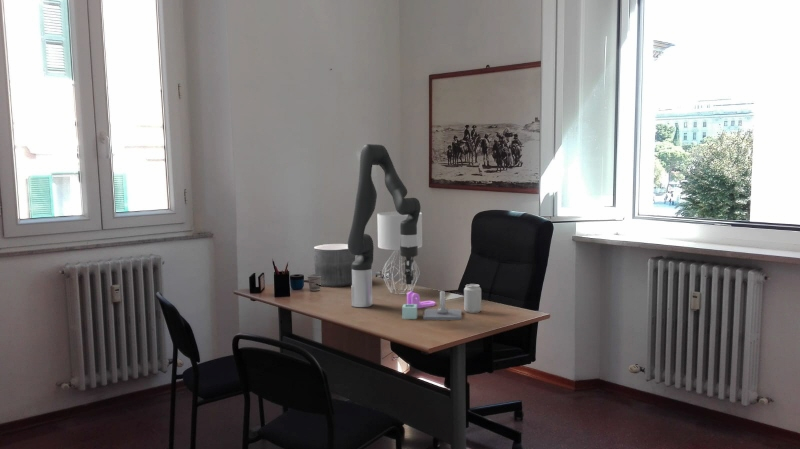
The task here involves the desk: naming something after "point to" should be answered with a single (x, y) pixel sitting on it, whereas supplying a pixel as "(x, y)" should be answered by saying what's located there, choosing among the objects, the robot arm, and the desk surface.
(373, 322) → the desk surface
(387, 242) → the table lamp
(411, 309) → the collar
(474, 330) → the desk surface
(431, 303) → the bracket
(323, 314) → the desk surface
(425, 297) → the desk surface
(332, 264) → the planter
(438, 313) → the post block
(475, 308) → the can
